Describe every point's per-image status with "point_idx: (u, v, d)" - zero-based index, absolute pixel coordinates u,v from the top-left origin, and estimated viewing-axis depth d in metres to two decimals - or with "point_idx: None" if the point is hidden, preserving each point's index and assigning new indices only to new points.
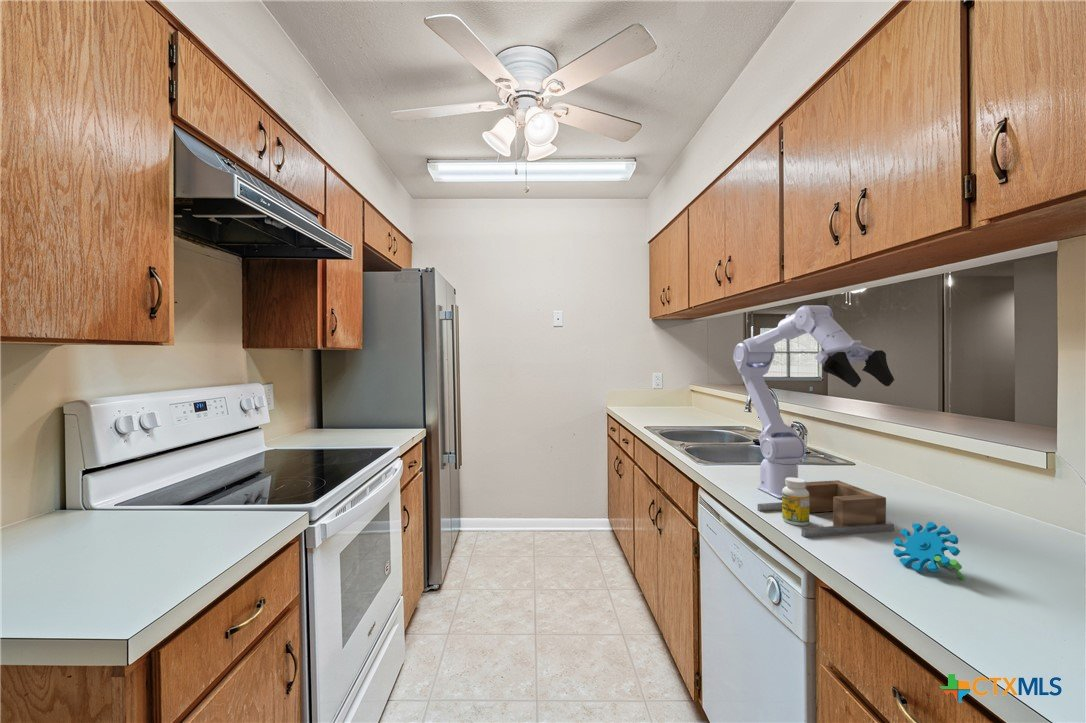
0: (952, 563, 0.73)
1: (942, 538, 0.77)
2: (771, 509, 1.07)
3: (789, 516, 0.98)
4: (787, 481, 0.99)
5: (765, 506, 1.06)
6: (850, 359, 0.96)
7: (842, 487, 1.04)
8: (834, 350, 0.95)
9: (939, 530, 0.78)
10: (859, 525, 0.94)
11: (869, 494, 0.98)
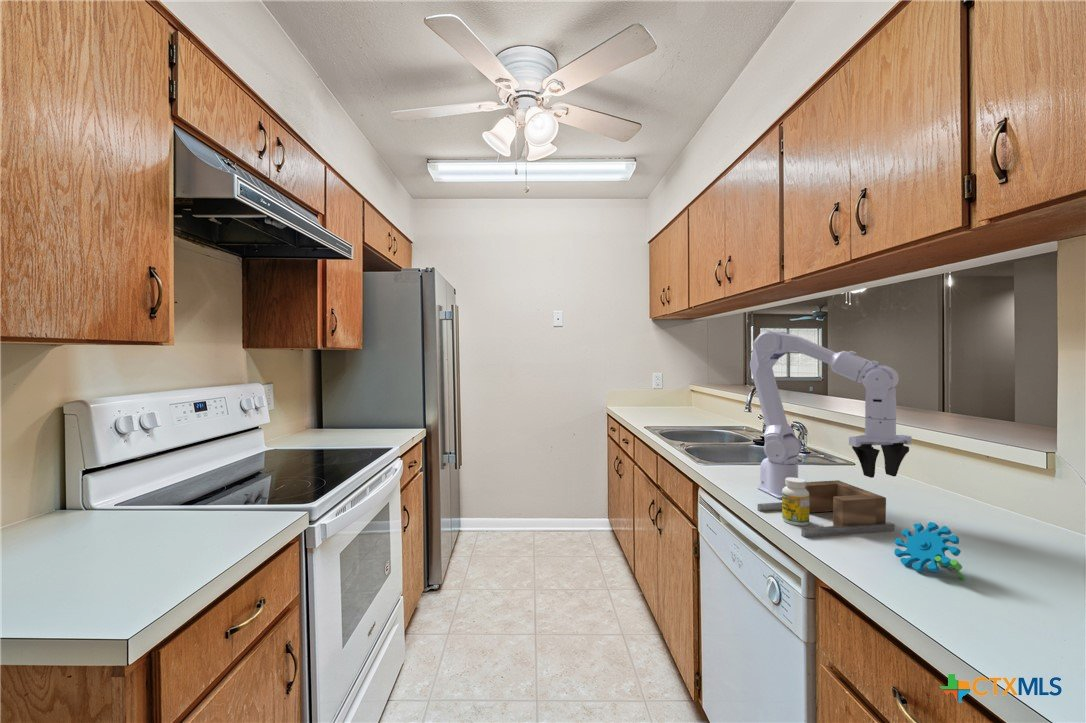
0: (952, 563, 0.73)
1: (943, 538, 0.77)
2: (771, 509, 1.07)
3: (789, 516, 0.98)
4: (787, 481, 0.99)
5: (765, 506, 1.06)
6: (878, 444, 1.02)
7: (842, 487, 1.04)
8: (869, 441, 1.00)
9: (940, 530, 0.78)
10: (859, 525, 0.94)
11: (869, 494, 0.98)
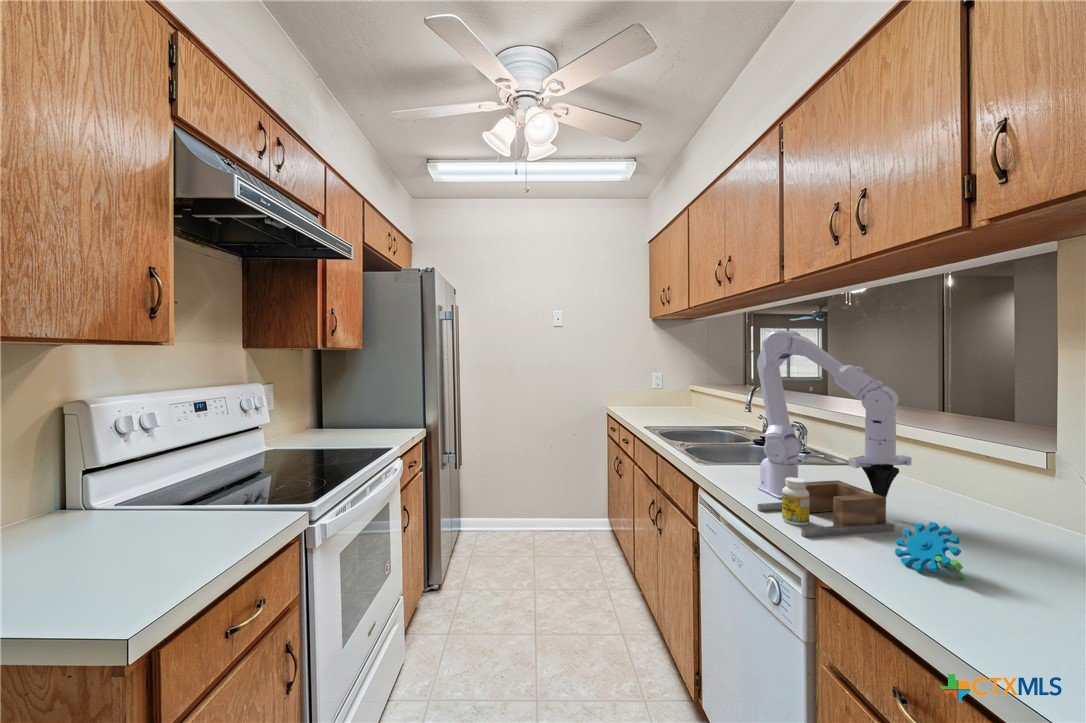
0: (953, 563, 0.73)
1: (943, 538, 0.77)
2: (771, 509, 1.07)
3: (789, 516, 0.98)
4: (787, 481, 0.99)
5: (765, 506, 1.06)
6: None
7: (842, 487, 1.04)
8: (869, 462, 1.00)
9: (941, 530, 0.78)
10: (859, 525, 0.94)
11: (869, 494, 0.98)
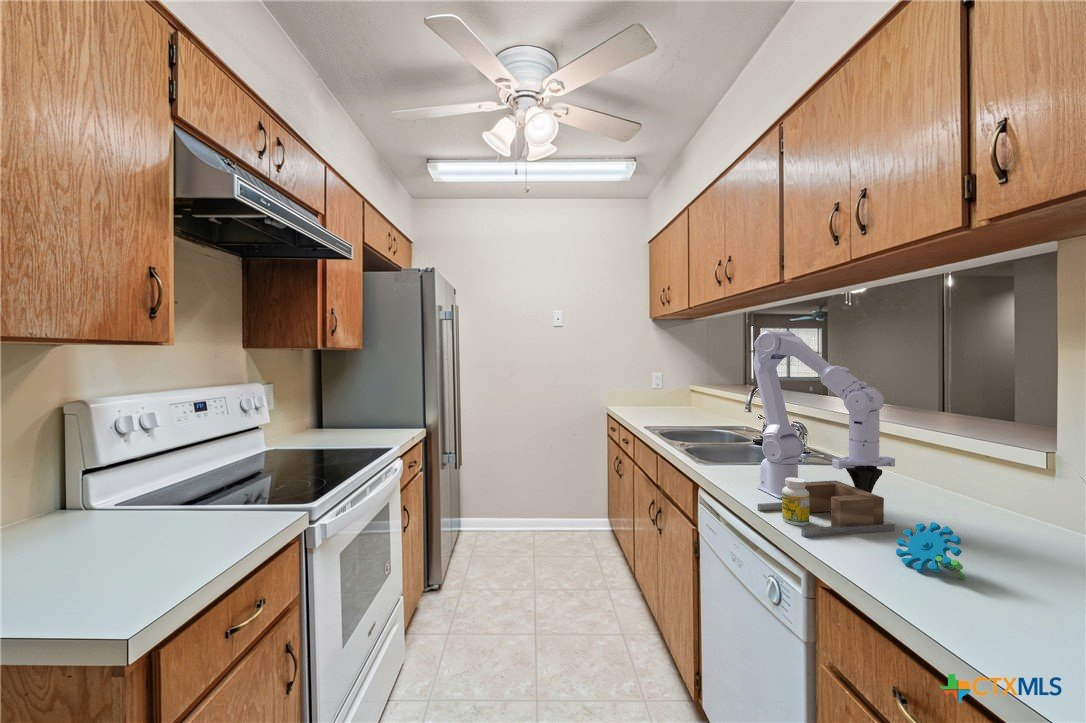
0: (953, 563, 0.73)
1: (944, 538, 0.77)
2: (771, 509, 1.07)
3: (789, 516, 0.98)
4: (787, 481, 0.99)
5: (765, 506, 1.06)
6: None
7: (840, 487, 1.04)
8: (852, 464, 1.00)
9: (942, 530, 0.78)
10: (859, 525, 0.94)
11: (867, 494, 0.98)
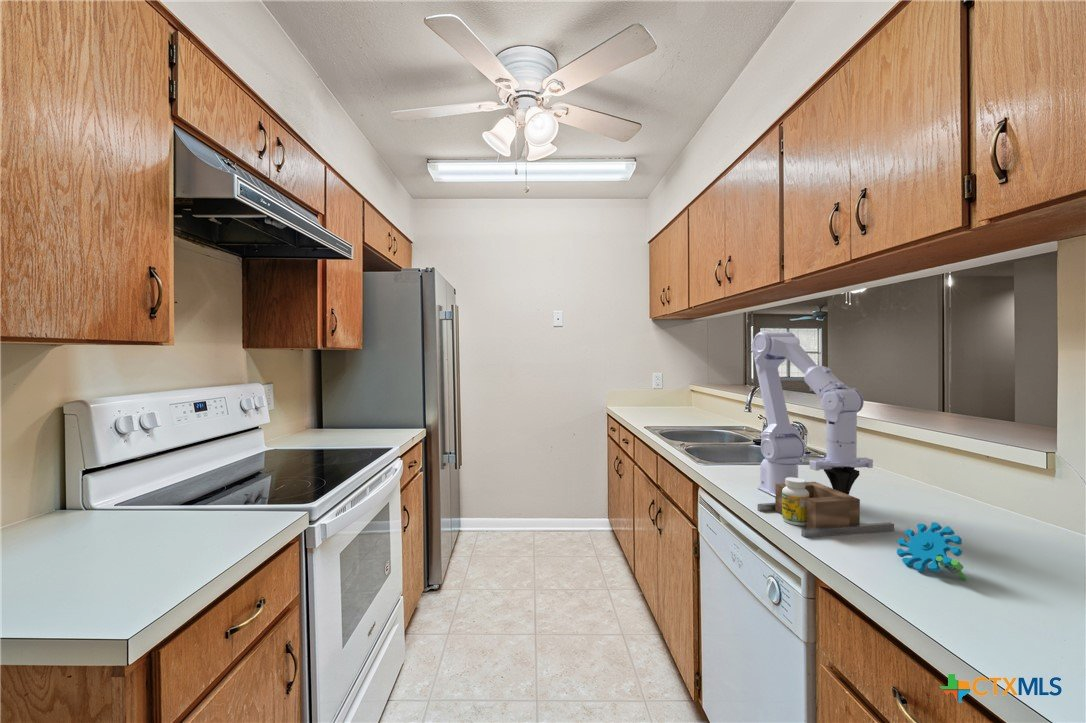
0: (953, 563, 0.73)
1: (945, 538, 0.77)
2: (771, 509, 1.07)
3: (789, 516, 0.98)
4: (787, 481, 0.99)
5: (765, 506, 1.06)
6: None
7: (818, 488, 1.03)
8: (829, 465, 0.99)
9: (943, 530, 0.78)
10: (859, 525, 0.94)
11: (843, 496, 0.97)
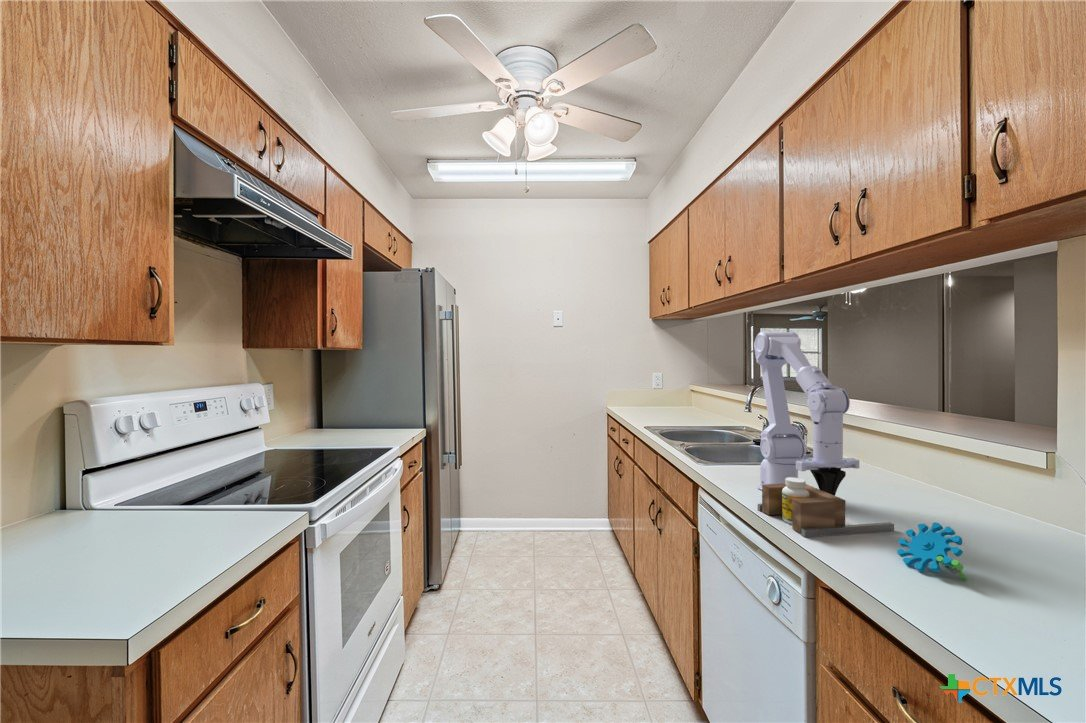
0: (953, 563, 0.73)
1: (946, 539, 0.77)
2: None
3: (789, 516, 0.98)
4: (787, 481, 0.99)
5: None
6: None
7: None
8: (815, 465, 0.98)
9: (944, 531, 0.78)
10: (859, 525, 0.94)
11: (829, 496, 0.96)
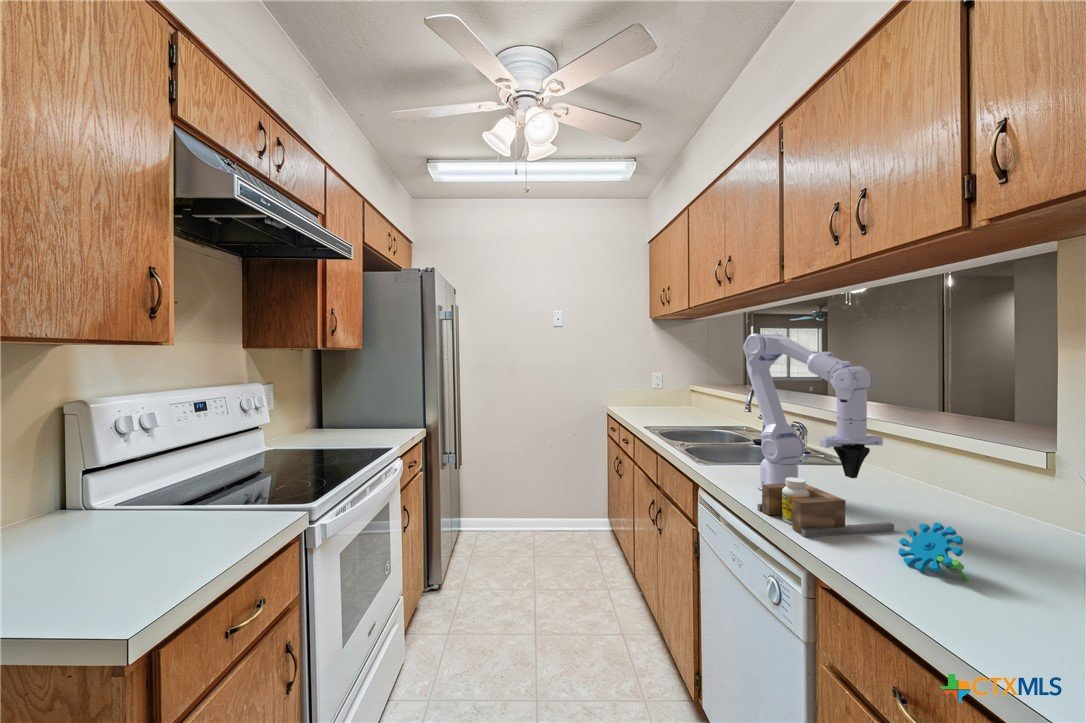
0: (954, 563, 0.73)
1: (947, 539, 0.77)
2: None
3: (789, 516, 0.98)
4: (787, 481, 0.99)
5: None
6: None
7: None
8: (839, 442, 1.00)
9: (945, 531, 0.78)
10: (859, 525, 0.94)
11: (829, 496, 0.96)
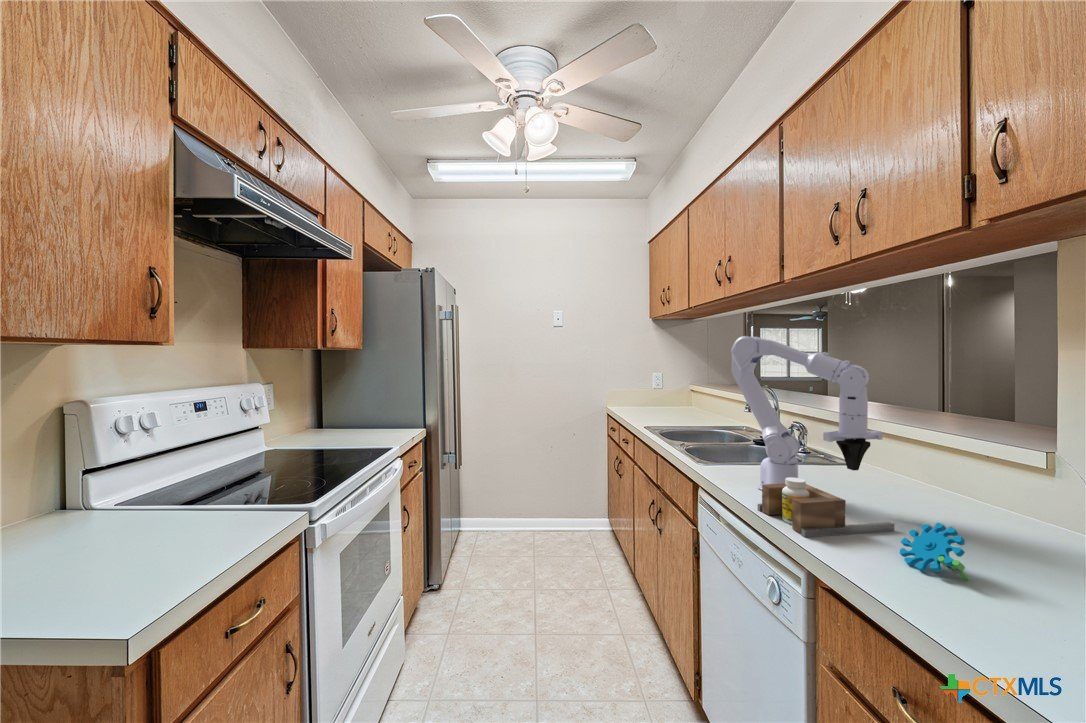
0: (954, 563, 0.73)
1: (948, 539, 0.77)
2: None
3: (789, 516, 0.98)
4: (787, 481, 0.99)
5: None
6: None
7: None
8: (842, 436, 1.06)
9: (946, 531, 0.78)
10: (859, 525, 0.94)
11: (829, 496, 0.96)
